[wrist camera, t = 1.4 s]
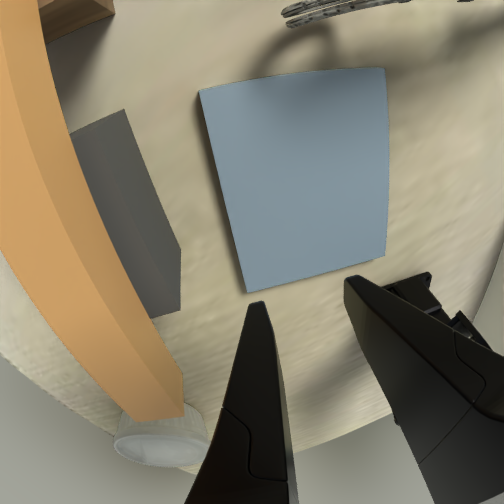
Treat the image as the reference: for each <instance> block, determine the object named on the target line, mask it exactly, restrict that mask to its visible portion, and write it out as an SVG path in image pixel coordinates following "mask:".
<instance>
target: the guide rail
mask: <svg viewBox="0 0 504 504" xmlns="http://www.w3.org/2000/svg"><path fill="white" fill-rule="evenodd" d="M37 3H38V10H39V16H40V22H41V27H42V33H43V38H44V43H45V45H46V44H48V43H49V42H51V41H53V40H55V39H57V38H59V37H61V36H64V35H66V34H68V33H70V32H72V31H74V30H76V29H79V28H81V27H83V26H86V25H88V24H90V23H93V22H95V21H98V20H100V19H103V18H105V17H108V16H111V15H113V14H115V10H114V5H113V0H37Z"/></svg>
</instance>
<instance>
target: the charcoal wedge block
mask: <svg viewBox="0 0 504 504" xmlns="http://www.w3.org/2000/svg"><path fill="white" fill-rule="evenodd" d="M69 135H70V138H71V141H72V144H73V147H74V150H75V153H76V156H77V159H78V161H79V164H80V167H81V170H82V172H83V175H84V178H85V180H86V183H87V185H88V188H89V190H90V193H91V195H92V198H93V200H94V203H95V205H96V208H97V210H98V212H99V215H100V217H101V220H102V222H103V224H104V226H105V229H106V231H107V233H108V235H109V238H110V240H111V242H112V244H113V246H114V249H115V251H116V253H117V255H118V257H119V259H120V261H121V263H122V265H123V268H124V270H125V272H126V274H127V276H128V278H129V280H130V282H131V284H132V286H133V288H134V289H135V291H136V293H137V295H138V297H139V299H140V301H141V303H142V305H143V307H144V308H145V310H146V312H147V314H148V316H149V318H150V319H151V318H154V317H158V316H162V315H165V314H169V313H172V312H176V311H179V310H180V278H181V249H180V247H179V244H178V242H177V240H176V238H175V235H174V233H173V231H172V228H171V226H170V224H169V221H168V219H167V217H166V214H165V212H164V210H163V207H162V205H161V203H160V200H159V198H158V195H157V193H156V191H155V188H154V186H153V183H152V181H151V178H150V176H149V173H148V171H147V168H146V166H145V163H144V161H143V158H142V156H141V153H140V150H139V148H138V145H137V143H136V140H135V137H134V135H133V132H132V129H131V127H130V124H129V121H128V118H127V116H126V113H125V110H124V109H123V110H120V111H118V112H116V113H113V114H111V115H109V116H106V117H104V118H102V119H100V120H98V121H95V122H93V123H91V124H89V125H87V126H85V127H83V128H81V129H79V130H77V131H75V132H73V133H71V134H69Z"/></svg>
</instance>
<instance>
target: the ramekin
mask: <svg viewBox="0 0 504 504" xmlns="http://www.w3.org/2000/svg"><path fill="white" fill-rule="evenodd" d="M184 414H185V416H183V417H176V418H169V419H161V420H153V421H144V422H135V421H134V420H133V419H132V418H131V417H130V416H129V415H128V414H127V413H126V412H125V411H124V410H123V412H122V415H121V418H120V422H119V425H118V429H117V433H116V434H115V436H114V439H113V447H114V449H115V450H116V451H117V452H118V453H119V454H120V455H122V456H123V457H125V458H127V459H129V460H131V461H134V462H138V463H141V464H145V465H150V466H158V467H182V466H189V465H194V464H197V463H200V462H203V461H204V459H205V456H206V454H207V451H208V449H209V446H210V444H211V441H210V440H209V437H208V433H207V430H206V427H205V424H204V420H203V418H202V416H201V414H200V413H199V412H198V411H197V410H196V409H195V408H193V407H192V406H190V405H188V404H186V403H184Z"/></svg>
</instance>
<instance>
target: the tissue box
mask: <svg viewBox="0 0 504 504" xmlns="http://www.w3.org/2000/svg"><path fill="white" fill-rule="evenodd" d="M472 325H473V326H474V327H475V328H476V329H477V331H478V332H479V333H480V334H481V335H482V337H483V338H484V339H485V340H486V342H487V343H488V344H489V346H490V347H491V349H492V350H493V351H494V352H496V353H498V354H500V355H502V356H504V243H503V246H502V249H501V252H500V255H499V258H498V261H497V264H496V267H495V270H494V272H493V275H492V278H491V280H490V283H489V286H488V288H487V291H486V293H485V295H484V298H483V300H482V303H481V305H480V307H479V309H478V312H477V314H476V316H475V318H474V321H473V323H472ZM468 338H469V339H470V336H469V337H468Z"/></svg>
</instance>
